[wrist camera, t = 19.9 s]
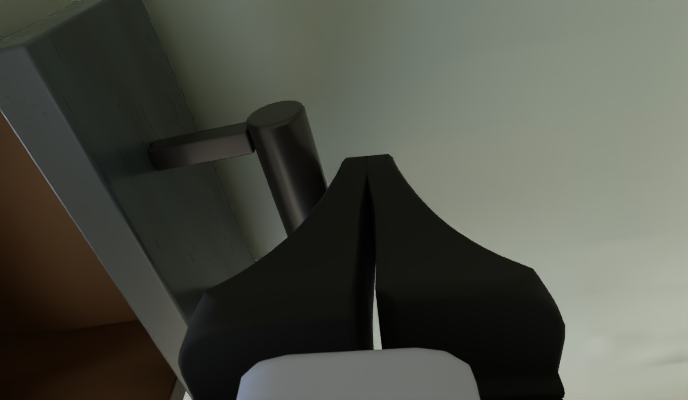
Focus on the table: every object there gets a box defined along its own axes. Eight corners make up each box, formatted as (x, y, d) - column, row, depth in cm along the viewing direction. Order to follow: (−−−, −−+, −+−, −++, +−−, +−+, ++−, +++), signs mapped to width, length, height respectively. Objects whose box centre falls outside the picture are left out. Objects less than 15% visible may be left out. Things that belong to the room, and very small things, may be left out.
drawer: (282, -55, 12) (240, -9, 8) (373, 292, 19) (377, 418, 14) (-279, 86, 14) (-542, 178, 10) (-23, 348, 21) (-118, 469, 17)
